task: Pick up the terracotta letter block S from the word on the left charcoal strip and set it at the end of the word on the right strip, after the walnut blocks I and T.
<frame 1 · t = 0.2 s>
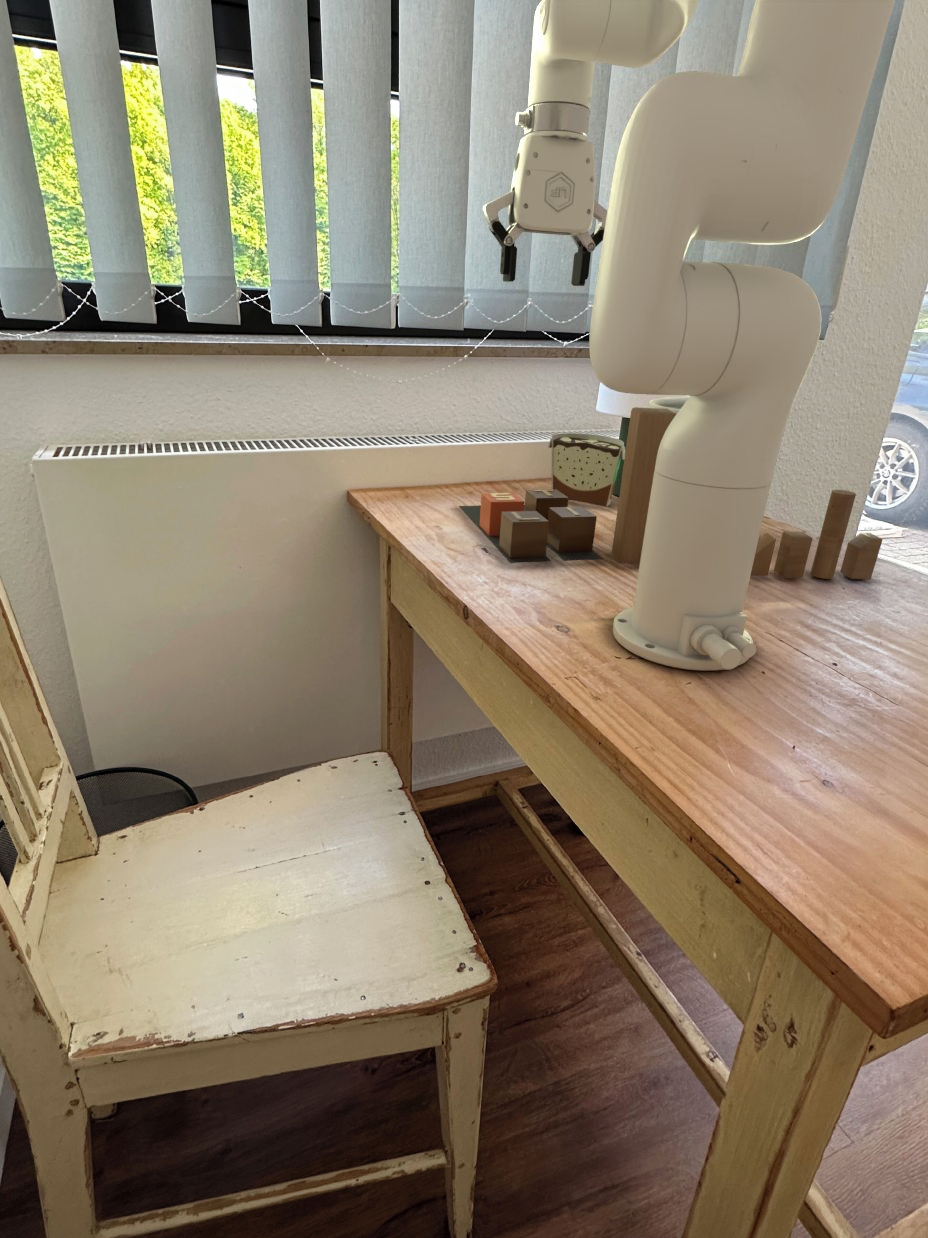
hand: (543, 283, 94), 31 cm above the table, tool pointing down, fingers open, 9 cm apart
word strips: (523, 534, 96), on the table
letter S: (500, 530, 95), point 1 cm above the table, touching word strips
letter T: (543, 525, 98), point 1 cm above the table, touching word strips
letter L: (521, 552, 87), point 1 cm above the table, touching word strips
wood blocks: (765, 577, 85), on the table
food container: (586, 502, 114), on the table
letter I: (568, 546, 90), point 1 cm above the table, touching word strips
utensil holder: (683, 535, 100), on the table
wooden block: (650, 564, 88), on the table
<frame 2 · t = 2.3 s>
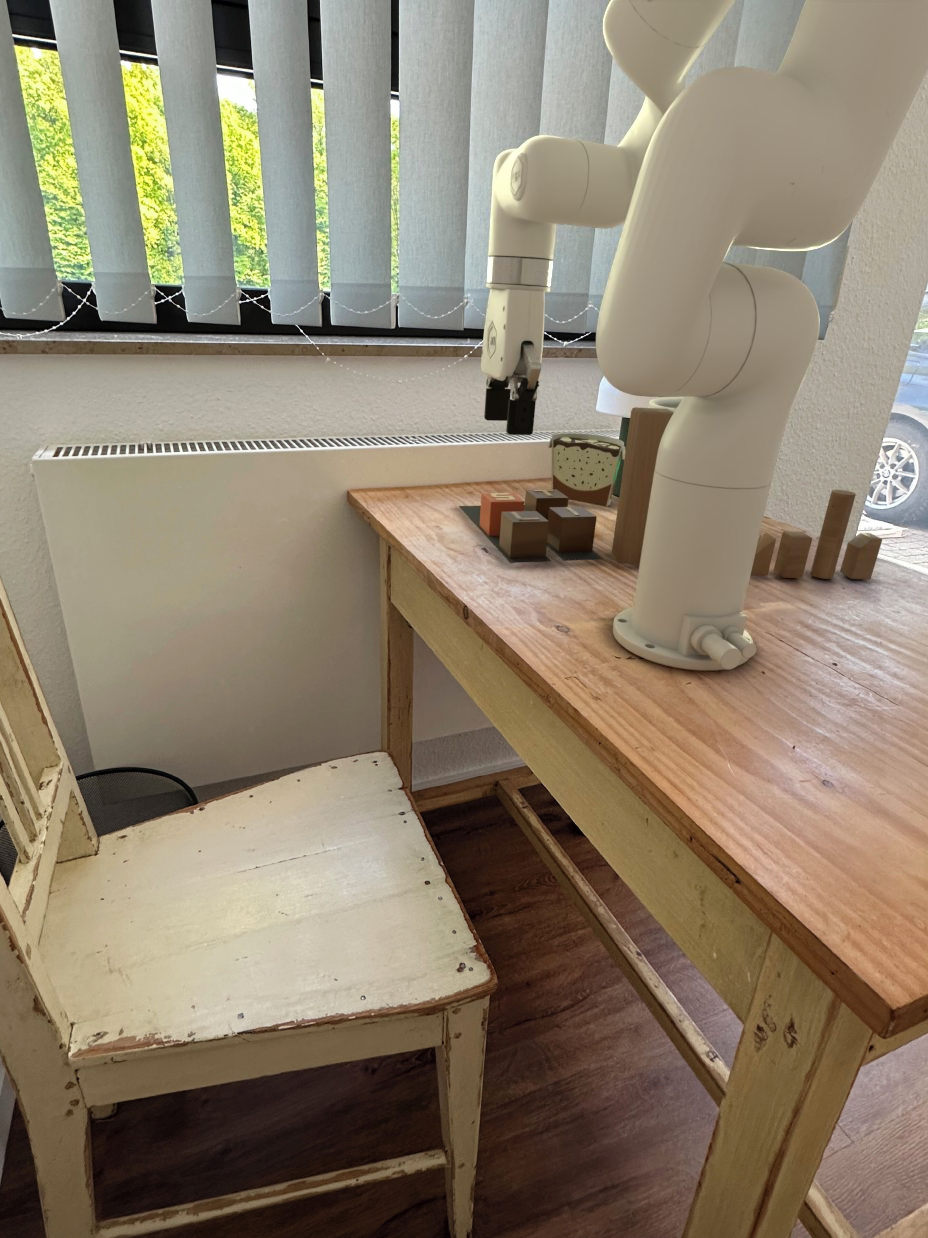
hand: (507, 426, 90), 14 cm above the table, tool pointing down, fingers open, 9 cm apart
nothing on the table moved.
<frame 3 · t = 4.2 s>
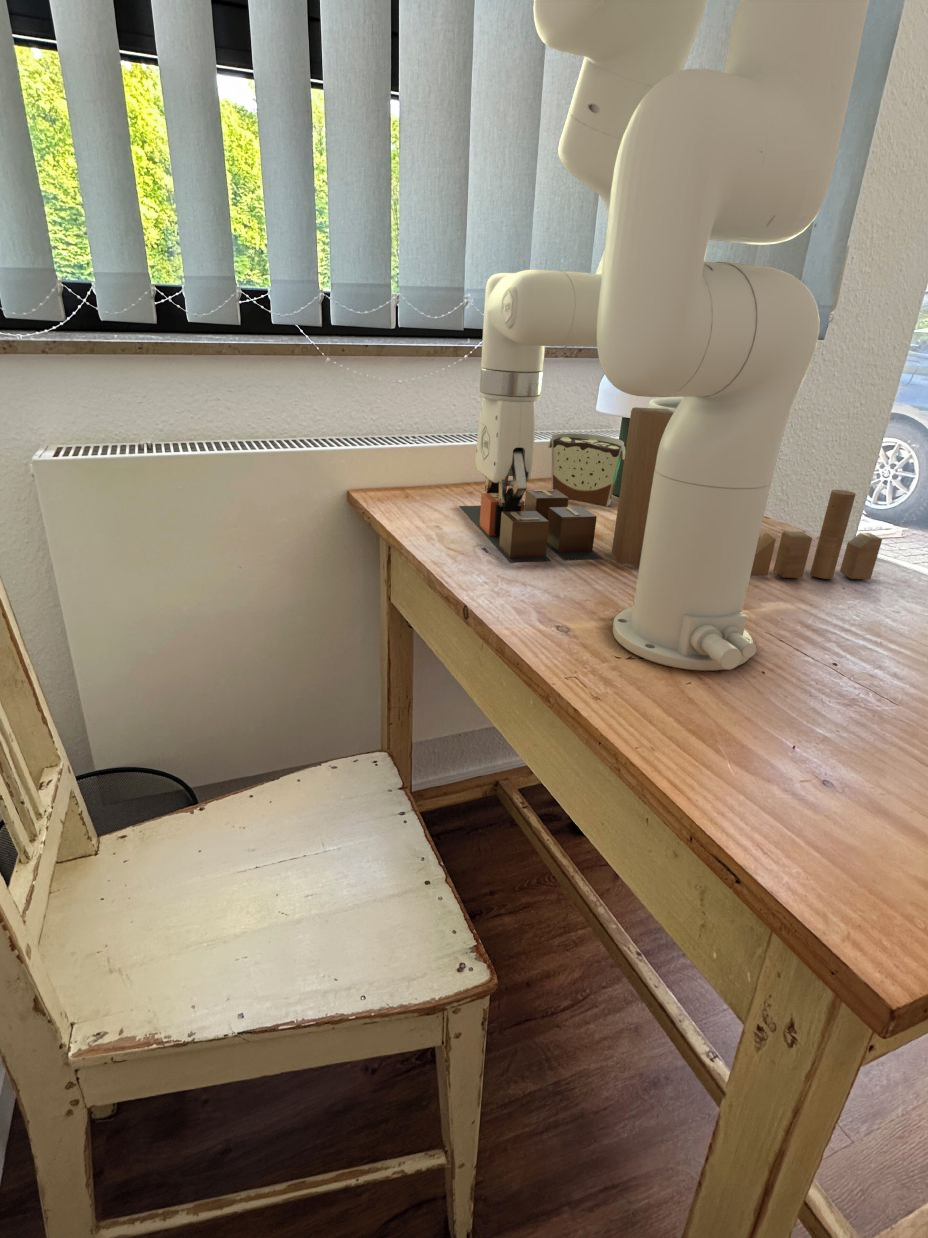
hand: (500, 527, 95), 1 cm above the table, tool pointing down, fingers closed on letter S, 4 cm apart
letter S: (500, 530, 95), point 1 cm above the table, touching gripper, word strips
everything else where it was.
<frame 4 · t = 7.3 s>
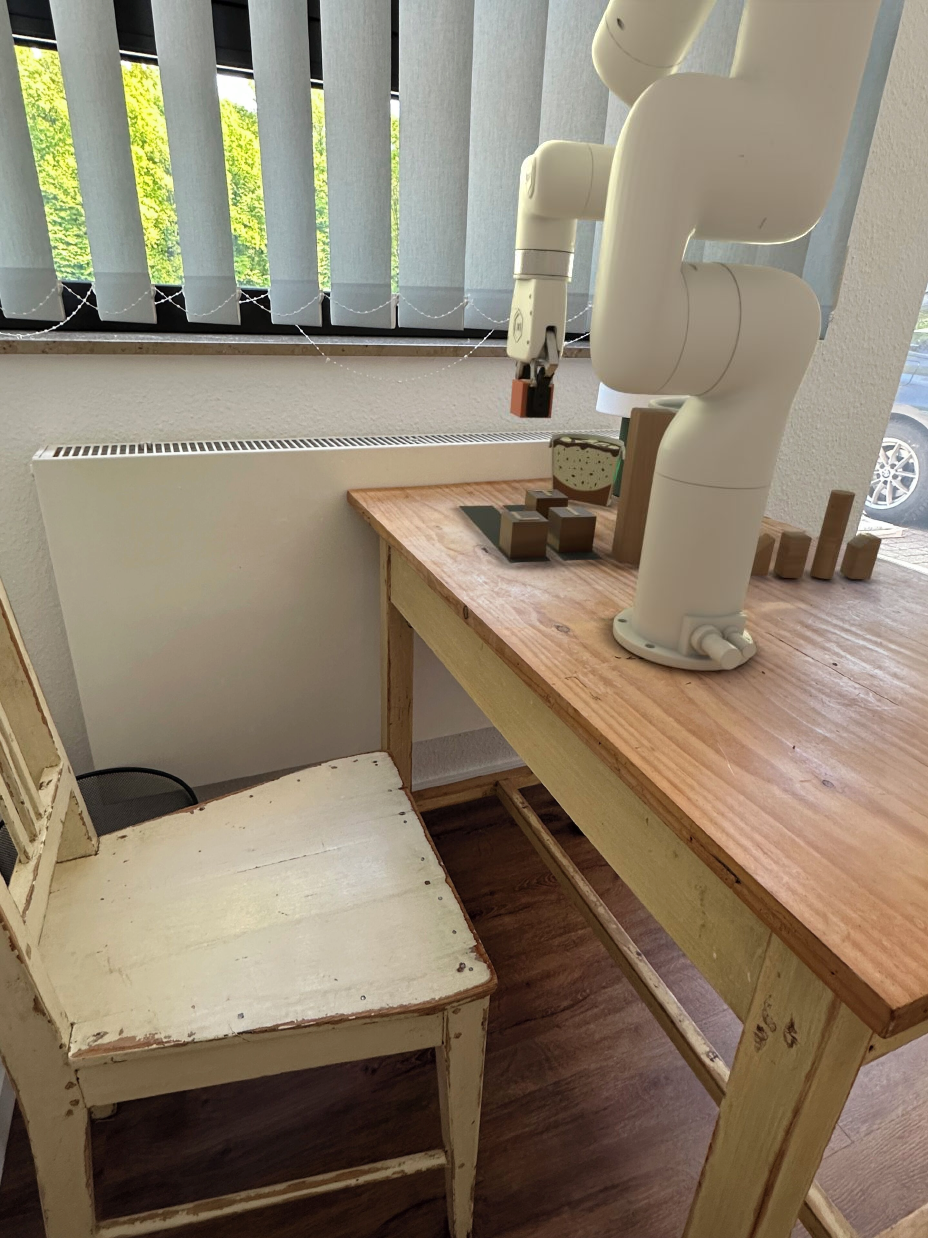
hand: (530, 412, 100), 14 cm above the table, tool pointing down, fingers closed on letter S, 4 cm apart
letter S: (530, 415, 100), point 14 cm above the table, touching gripper
everything else where it was.
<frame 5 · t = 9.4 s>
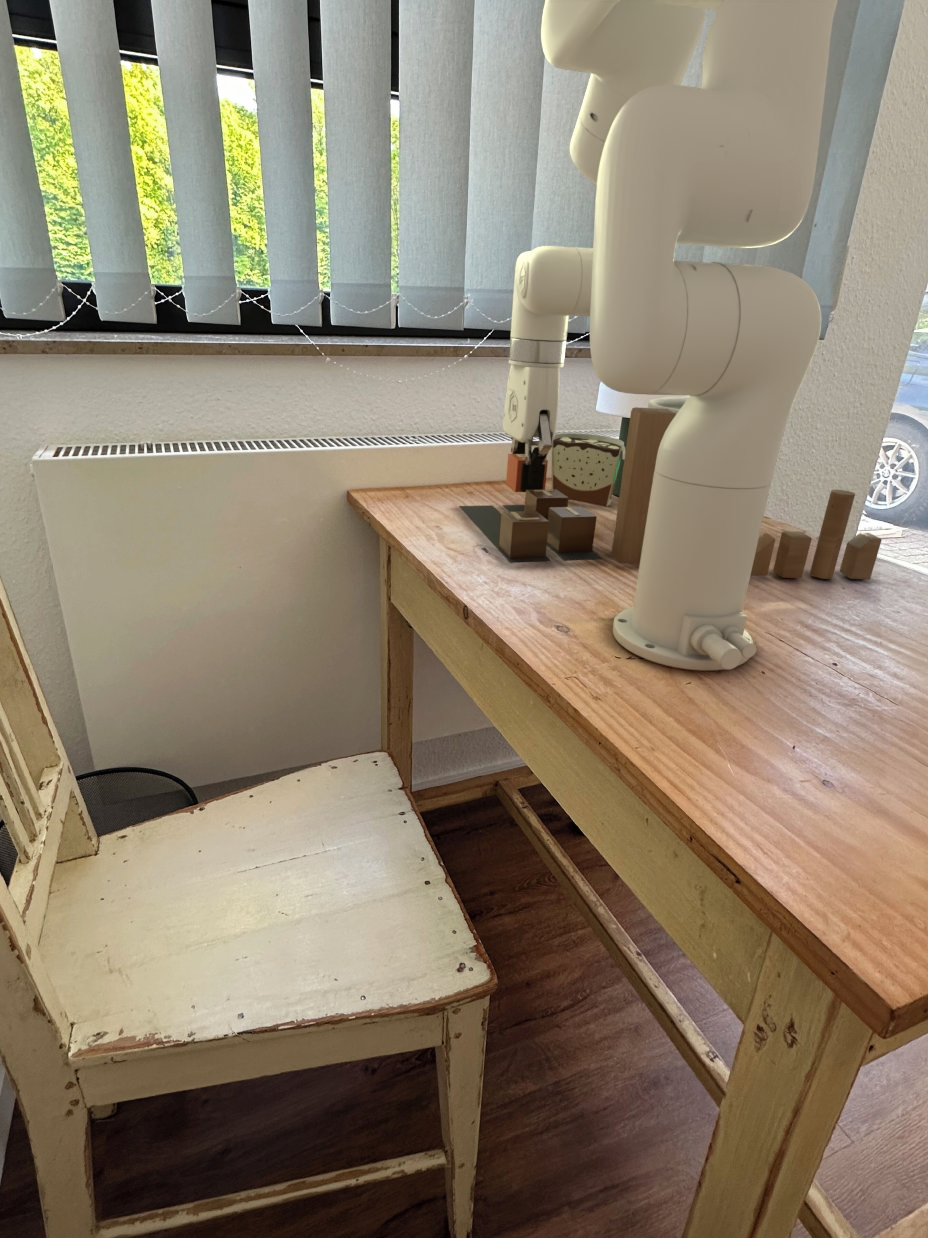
hand: (525, 485, 104), 4 cm above the table, tool pointing down, fingers closed on letter S, 4 cm apart
letter S: (525, 487, 104), point 4 cm above the table, touching gripper
everything else where it was.
when the fingers open (1 cm above the table, at t = 10.6 s): letter S stays where it is, resting on word strips.
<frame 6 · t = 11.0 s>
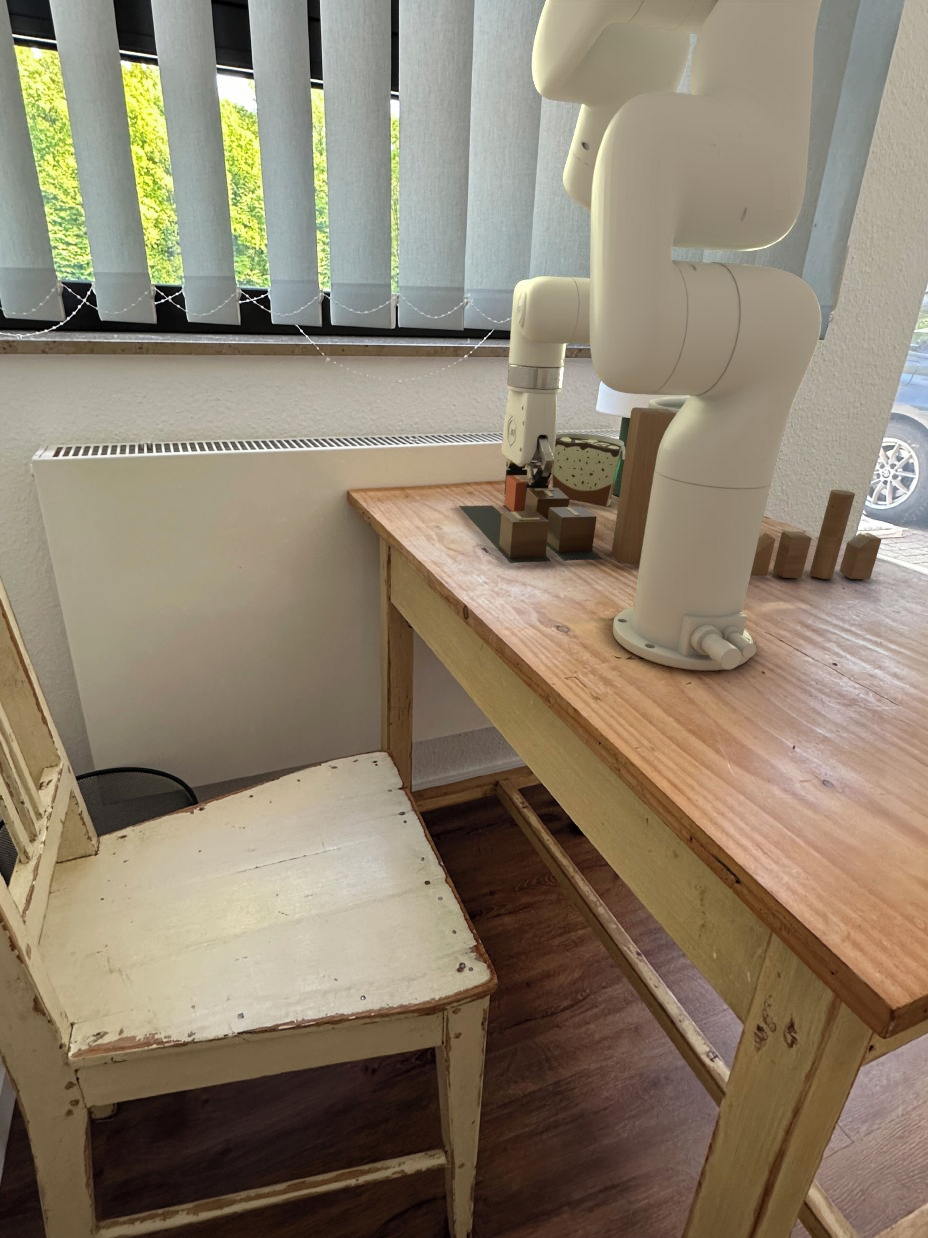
hand: (524, 503, 105), 2 cm above the table, tool pointing down, fingers open, 8 cm apart
letter S: (523, 508, 106), point 1 cm above the table, touching word strips
letter T: (543, 524, 98), point 1 cm above the table, touching gripper, word strips
everything else where it was.
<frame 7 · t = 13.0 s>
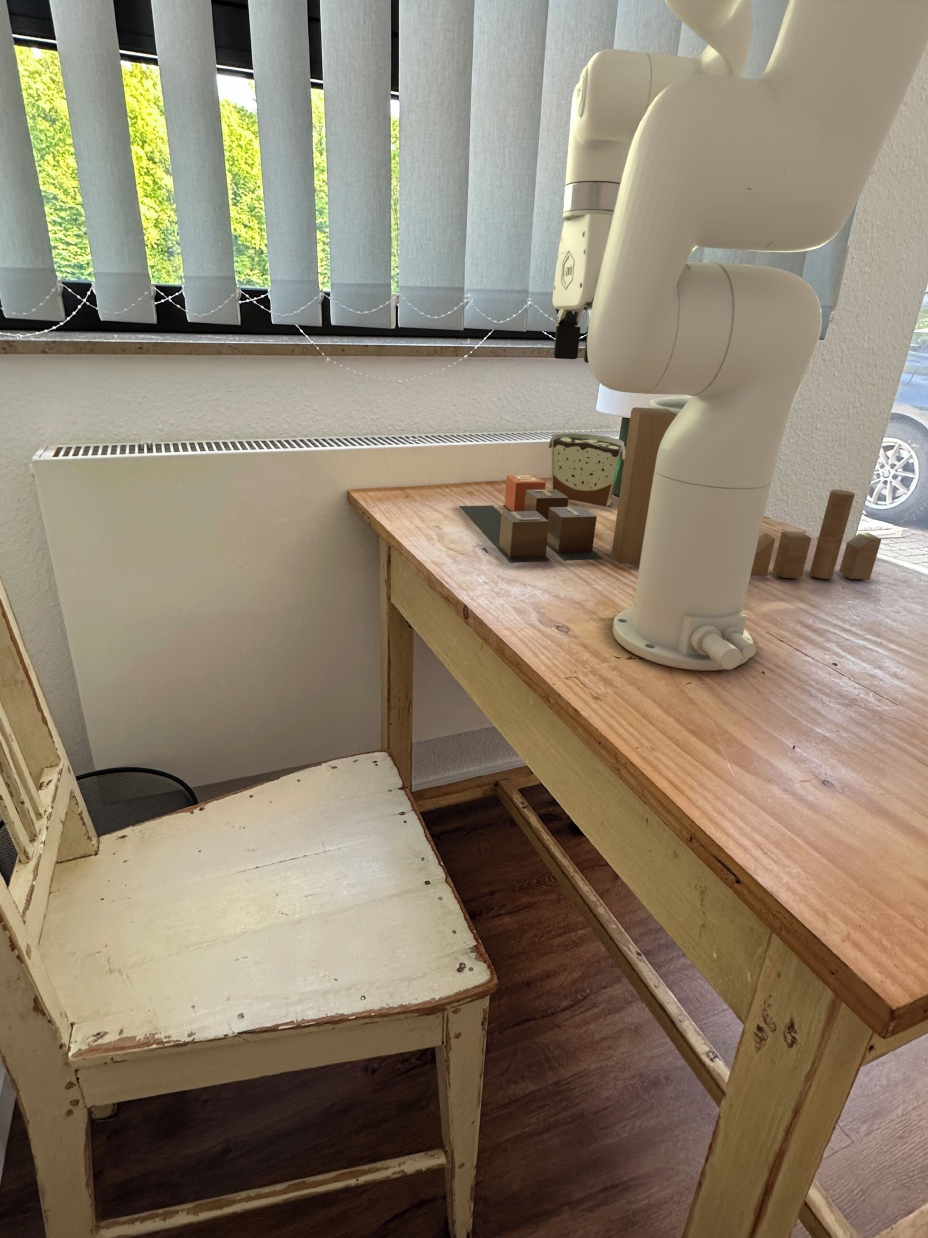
hand: (580, 360, 91), 22 cm above the table, tool pointing down, fingers open, 9 cm apart
letter T: (543, 525, 98), point 1 cm above the table, touching word strips
everything else where it was.
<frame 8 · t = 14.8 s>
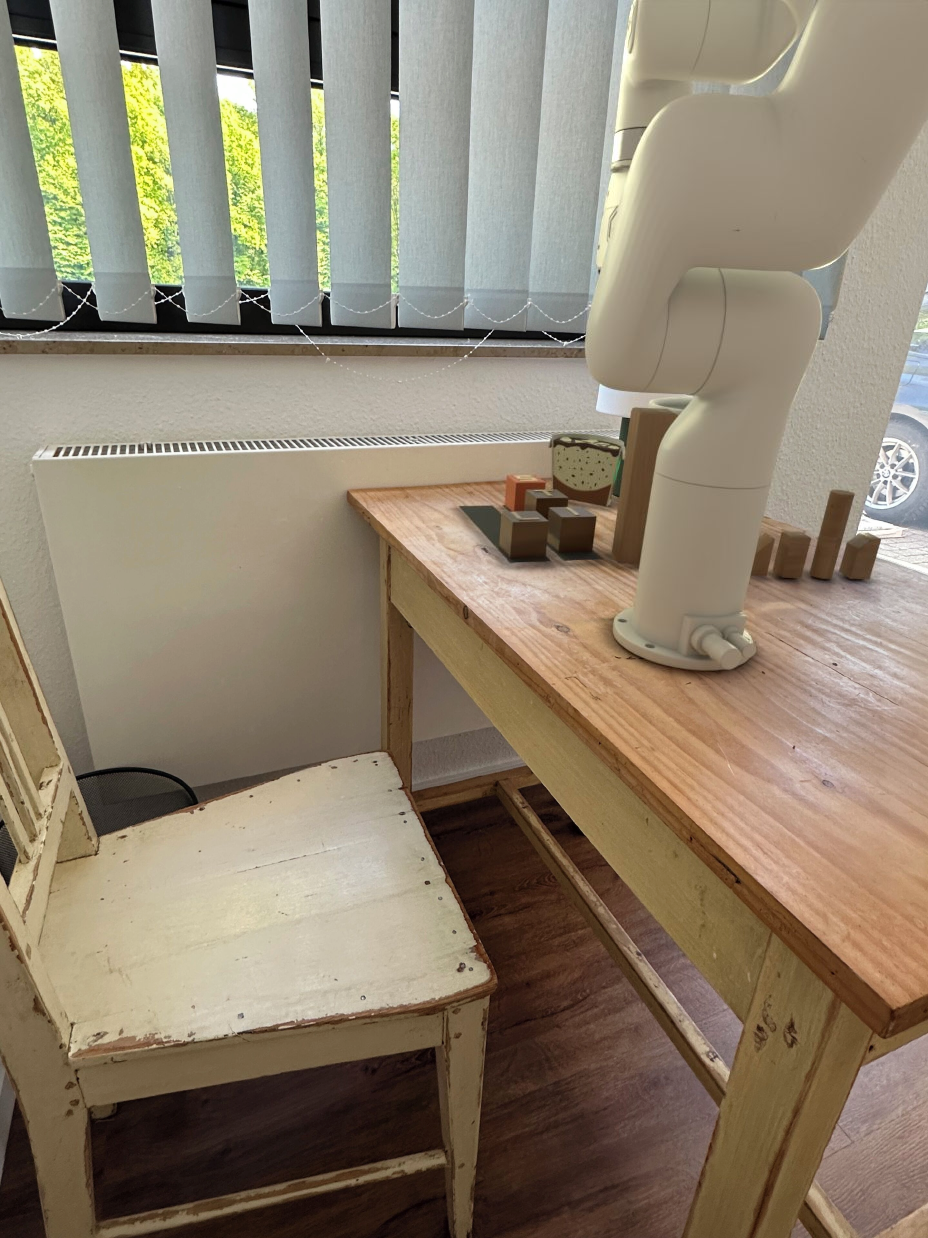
hand: (625, 326, 84), 26 cm above the table, tool pointing down, fingers open, 9 cm apart
nothing on the table moved.
at the end: letter S 0.1 cm from the target spot, point 0.6 cm above the table; letter S tilted 0°; the gripper is holding nothing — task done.
